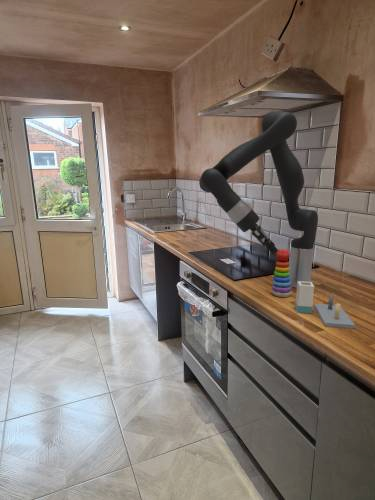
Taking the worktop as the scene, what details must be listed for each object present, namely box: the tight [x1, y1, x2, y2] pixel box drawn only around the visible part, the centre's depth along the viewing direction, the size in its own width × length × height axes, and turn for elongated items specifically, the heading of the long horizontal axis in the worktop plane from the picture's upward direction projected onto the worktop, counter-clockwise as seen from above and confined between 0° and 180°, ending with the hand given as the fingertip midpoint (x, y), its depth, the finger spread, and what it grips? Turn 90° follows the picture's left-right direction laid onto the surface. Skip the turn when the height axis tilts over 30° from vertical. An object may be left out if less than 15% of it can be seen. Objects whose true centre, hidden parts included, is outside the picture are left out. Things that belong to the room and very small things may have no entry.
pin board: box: [313, 294, 356, 329], centre depth 110 cm, size 16×9×6 cm, turn 171°
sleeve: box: [294, 281, 315, 314], centre depth 115 cm, size 5×5×10 cm
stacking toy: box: [270, 248, 292, 298], centre depth 129 cm, size 8×8×19 cm
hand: (274, 249), depth 113 cm, fingers open, 8 cm apart
